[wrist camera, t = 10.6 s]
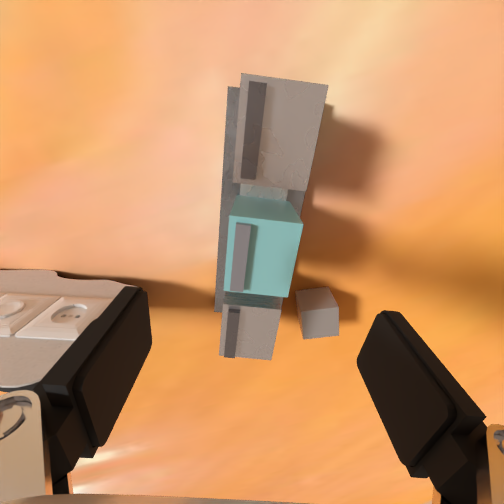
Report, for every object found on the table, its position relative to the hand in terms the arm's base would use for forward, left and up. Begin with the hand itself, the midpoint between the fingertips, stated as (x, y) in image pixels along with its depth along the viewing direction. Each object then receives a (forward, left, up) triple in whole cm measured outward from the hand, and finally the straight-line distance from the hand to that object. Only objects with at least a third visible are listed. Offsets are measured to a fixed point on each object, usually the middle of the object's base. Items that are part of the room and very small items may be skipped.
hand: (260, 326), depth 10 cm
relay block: (+10, +8, -17) cm, 21 cm away
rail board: (+1, 0, -17) cm, 17 cm away
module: (+1, 0, -15) cm, 15 cm away
